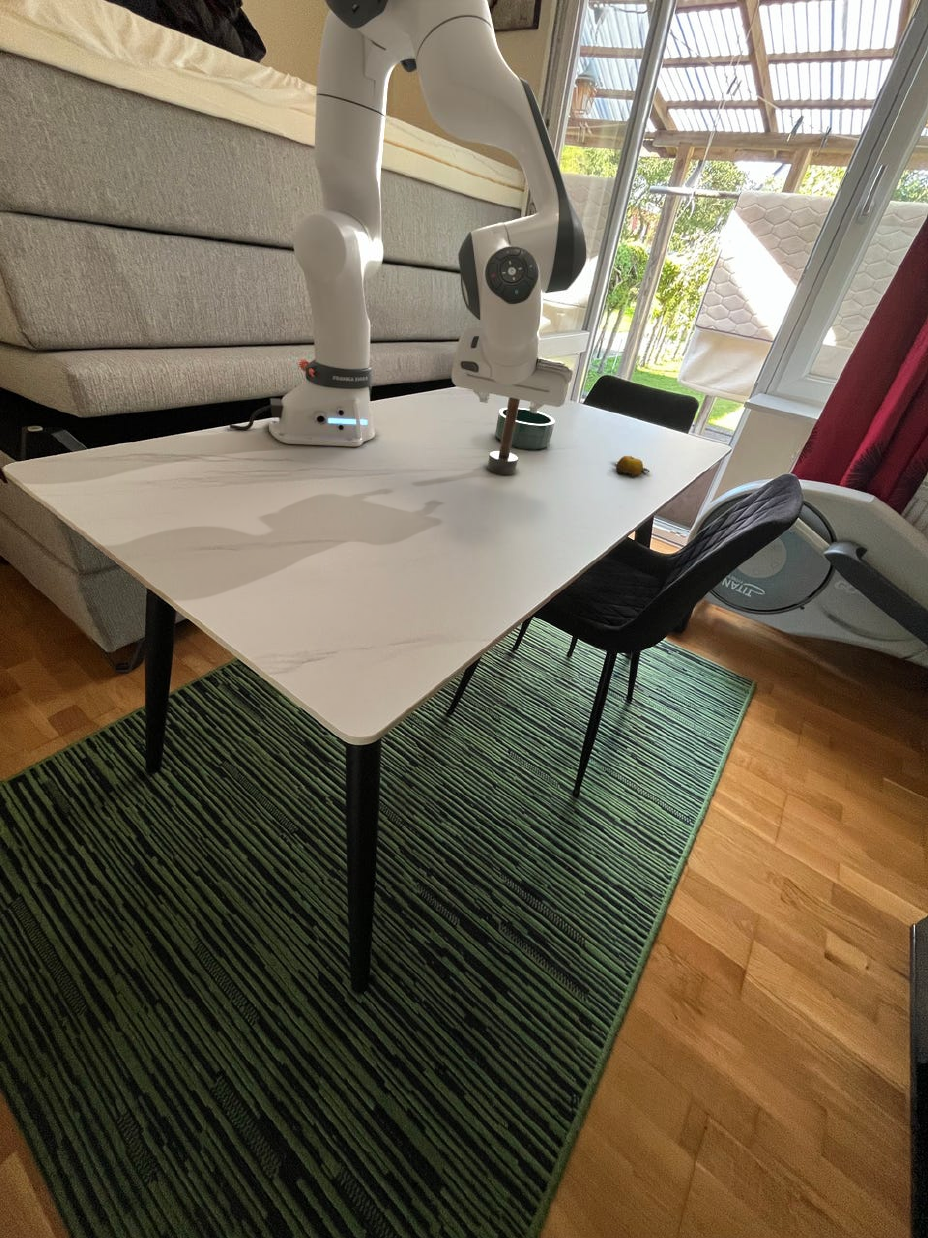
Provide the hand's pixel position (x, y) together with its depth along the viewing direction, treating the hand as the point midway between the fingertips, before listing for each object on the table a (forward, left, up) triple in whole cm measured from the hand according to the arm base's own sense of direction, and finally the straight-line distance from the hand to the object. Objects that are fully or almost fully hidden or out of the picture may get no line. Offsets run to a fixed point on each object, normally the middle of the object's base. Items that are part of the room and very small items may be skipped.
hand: (509, 404), depth 96 cm
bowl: (+20, +22, -15) cm, 33 cm away
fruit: (+37, 0, -15) cm, 40 cm away
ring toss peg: (+4, +5, -15) cm, 16 cm away
